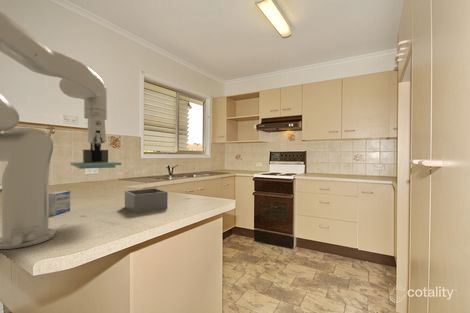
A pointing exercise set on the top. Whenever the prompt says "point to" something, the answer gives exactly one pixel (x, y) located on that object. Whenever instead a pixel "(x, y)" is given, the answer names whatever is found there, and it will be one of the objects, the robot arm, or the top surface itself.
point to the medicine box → (59, 202)
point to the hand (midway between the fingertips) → (95, 160)
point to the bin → (145, 200)
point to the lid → (95, 164)
